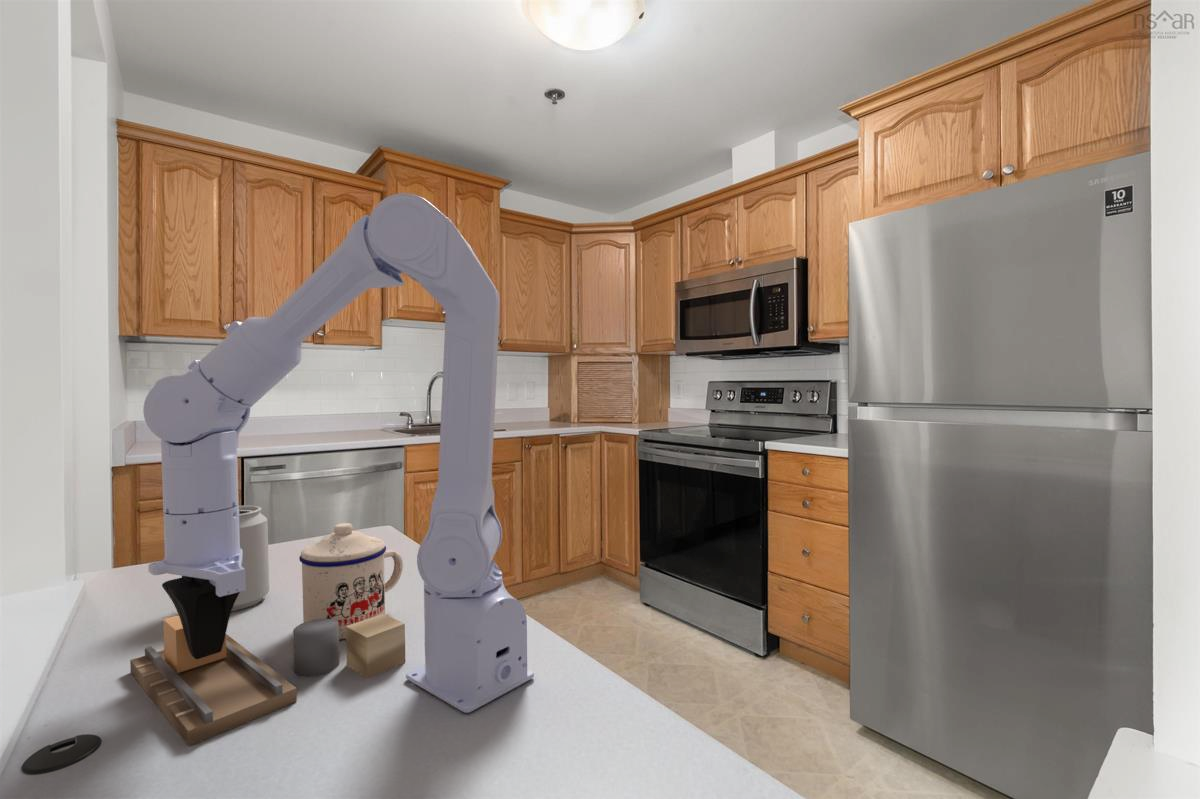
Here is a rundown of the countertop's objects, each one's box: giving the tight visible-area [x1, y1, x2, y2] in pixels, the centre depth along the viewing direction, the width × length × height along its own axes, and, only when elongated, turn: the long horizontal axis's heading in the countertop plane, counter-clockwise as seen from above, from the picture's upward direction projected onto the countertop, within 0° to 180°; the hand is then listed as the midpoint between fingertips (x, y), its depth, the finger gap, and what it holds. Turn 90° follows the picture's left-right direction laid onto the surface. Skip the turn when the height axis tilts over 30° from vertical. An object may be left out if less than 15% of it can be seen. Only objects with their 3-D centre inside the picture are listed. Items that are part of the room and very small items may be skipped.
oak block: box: [345, 613, 406, 679], centre depth 58 cm, size 4×4×4 cm
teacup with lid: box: [298, 522, 404, 640], centre depth 68 cm, size 12×9×12 cm
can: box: [231, 505, 270, 612], centre depth 74 cm, size 8×8×12 cm
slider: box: [162, 615, 227, 673], centre depth 56 cm, size 4×4×4 cm
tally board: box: [129, 633, 298, 747], centre depth 54 cm, size 18×8×2 cm, turn 50°
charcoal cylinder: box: [292, 619, 340, 678], centre depth 57 cm, size 4×4×4 cm
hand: (206, 653), depth 54 cm, fingers closed
